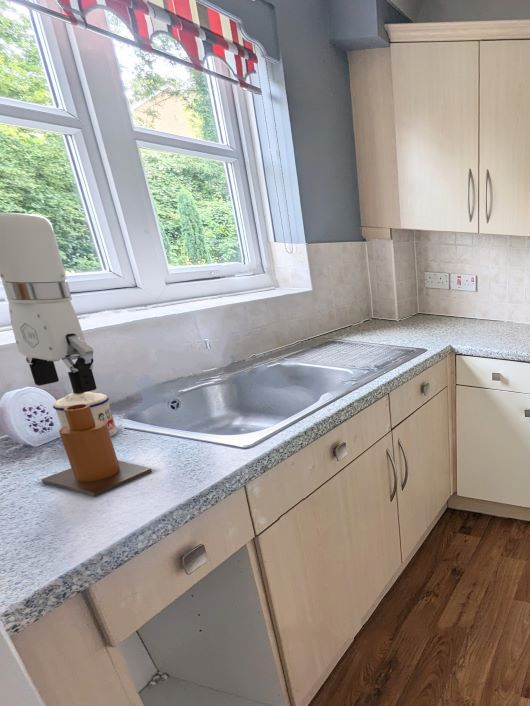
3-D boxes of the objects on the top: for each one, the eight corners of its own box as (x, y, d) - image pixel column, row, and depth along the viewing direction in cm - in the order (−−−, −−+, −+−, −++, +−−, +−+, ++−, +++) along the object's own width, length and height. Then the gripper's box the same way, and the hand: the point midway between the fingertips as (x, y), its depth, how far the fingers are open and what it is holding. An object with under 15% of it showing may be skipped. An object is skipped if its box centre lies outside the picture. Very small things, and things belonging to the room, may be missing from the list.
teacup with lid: (108, 442, 102) (94, 393, 98) (56, 447, 99) (38, 397, 95) (129, 422, 113) (117, 377, 109) (82, 426, 109) (68, 380, 105)
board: (42, 482, 86) (41, 479, 86) (102, 459, 95) (101, 456, 95) (95, 497, 82) (93, 493, 82) (152, 471, 91) (151, 468, 91)
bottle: (66, 478, 86) (43, 410, 81) (104, 463, 92) (84, 399, 87) (90, 484, 85) (68, 415, 80) (128, 468, 90) (108, 403, 86)
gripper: (-27, 288, 75) (6, 386, 81) (46, 299, 71) (75, 401, 77) (32, 285, 82) (58, 375, 88) (101, 294, 78) (124, 389, 83)
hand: (66, 387), depth 82 cm, fingers open, 9 cm apart
